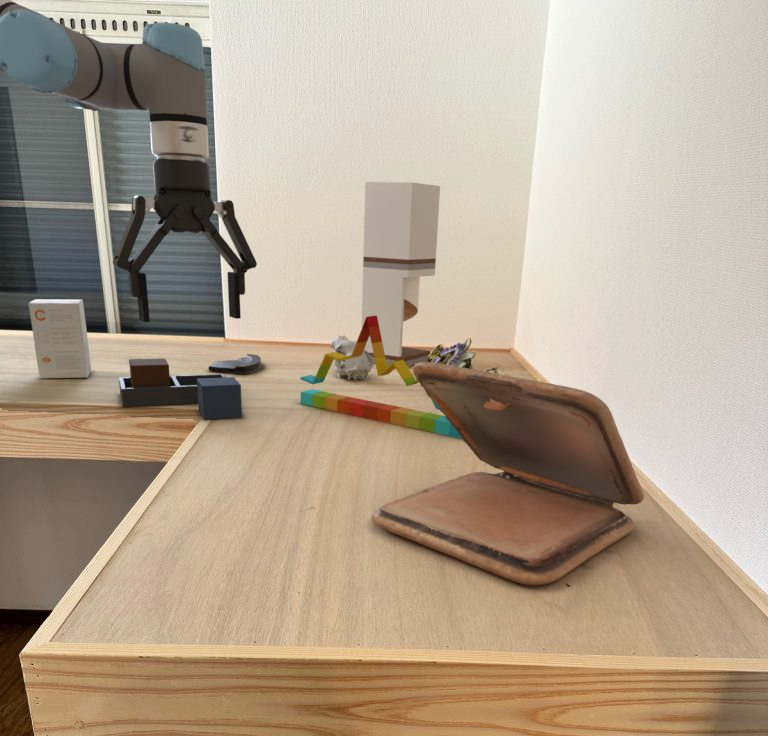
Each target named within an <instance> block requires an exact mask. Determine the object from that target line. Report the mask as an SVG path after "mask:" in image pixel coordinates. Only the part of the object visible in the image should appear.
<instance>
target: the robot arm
mask: <svg viewBox="0 0 768 736" xmlns="http://www.w3.org/2000/svg"><path fill="white" fill-rule="evenodd" d="M203 46H204V45H203V40H202V37H201V35H200V33H199V32H198V31H197V30H195V29H194V28H192V27H190V26H187V25H184V24H179V23H174V22H173V23H172V22H154V23H148V24H146V25H145V26H144V27H143V30H142V38H141V43H136V44H117V43H116V44H115V43H113V44H112V43H104V42H101V41H99V40H97V39H95V38H92V37H90V36H88V35H86V34H83V33H81V32H79V31H77V30H74V29H72V28H70V27H67V26H66V25H63V24H62V23H59V22H57V21H56V20H54V19H52V18H50V17H48V16H46V15H44V14H42V13H40V12H37V11H35V10H33V9H30V8H28V7H26V6H23V5H21V4H19V3H17V2H15V1H13V0H0V71H2V72H3V73H5V74H6V75H7V76H8V77H9V78H11V79H12V80H13V81H15V82H16V83H19V84H20V85H22V86H24V87H26V88H28V89H31V90H33V91H36V92H38V93H43V94H44V93H46V94H50V95H51V94H52V95H55V96H59V97H61V98H62V99H63V100H64V101H65V103H66V104H67V105H68V106H69V107H71V108H74V109H80V110H90V111H93V112H97V111H98V112H100V111H105V110H106V111H110V110H111V111H112V110H113V111H116V110H118V111H120V110H122V111H123V110H128V111H129V110H135V111H136V110H137V111H138V110H140V111H148V114H149V116H148V117H149V127H150V128H149V129H150V144H151V145H150V146H151V154H152V155H153V156H154V157H156V159H154V160H153V161H154V162H153V163H152V170H153V184H154V197H153V199H152V198H148V197H147V198H146V197H144V196H143V195H134V196H132V198H131V214H130V216H129V219H128V221H127V224H126V226H125V229H124V232H123V234H122V237H121V238H120V241H119V244H118V246H117V249H116V252H115V254H114V257H113V259H112V265H113V266H114V267H116V268H119V269H122V270H123V271H125V272H126V273H127V278H128V289H129V294H130V296H131V297H133V298H137V309H138V320H139V321H141V322H143V323H150V322H151V320H150V319H151V318H150V309H149V308H150V307H149V297H148V283H147V274H146V273H144V272H140V271H141V270H142V268H144V266H145V264H146V263H147V261H148V260H149V259H150V258H151V257H152V255H153V253H155V250H156V249H157V248H158V246H159V245H160V244H161V242H162V241H163V240H164V238H165V237H166V236H167V235H168V234H169V233H170V232H172V233H190V234H191V233H192V234H199V233H200V232H201V234H202V235H203V236H205V237H206V238H207V240H208V241H209V242H210V243H211V245H212V246H213V247H214V249H215V250H216V251H217V253H219V255H220V256H221V257H222V258H223V260H224V261H225V262H226V263H227V264H228V266H229V267H230V268H231V270H232V271H227V290H228V291H227V293H228V296H227V297H228V315H229V317H231V318H232V319H237V320H239V319H241V317H242V316H241V296H244V295H245V294H246V278H245V274H246V273H247V272H248V270H251V269H255V268H256V267H257V265H258V263H257V261H256V258H255V256H254V254H253V252H252V249H251V247H250V245H249V242H248V241H247V239H246V237H245V234H244V233H243V230H242V228H241V226H240V224H239V222H238V220H237V218H236V213H235V207H234V202H233V200H230V199H222V200H220V201H213V198H212V196H211V195H212V193H211V192H212V188H211V167H210V165H209V163H208V162H206V161H205V160H206V159H208V158H209V157H210V153H209V151H210V150H209V149H210V148H209V132H208V130H209V129H208V117H207V116H208V115H207V114H208V113H207V86H206V74H207V70H206V67H205V66H206V65H205V58H204V57H205V56H204V47H203ZM152 209H153V211H155V213H156V214H157V216H158V217H159V219H158V220H157V221H156V223H155V224H154V226H153V228H152V230H151V231H150V233H149V234H148V235H147V236H146V238H145V239H144V241H143V242H142V244H141V245H140V246H139V248H137V251H136V252H135V253H134V254H133V256H132V257H131V258H130V256H131V255H132V254H131V253H132V251H133V248H134V245H135V243H136V241H137V238H138V236H139V234H140V232H141V231H140V230H141V228H142V225H143V223H144V220H145V216H146V215H148V214H150V212H151V210H152ZM214 212H216V215H217V216H218V217H219V218H221V220H222V223H223V225H224V228H225V229H226V231H227V233H228V235H229V237H230V240H231V242H232V243H233V246H234V248H235V250H236V252H237V254H238V255H237V254H236V253H235V252H234V250H233V249H232V248H231V246H230V245H229V244H228V243H227V241H226V240H225V239H224V238H223V236H222V235H221V234H220V233H219V231H218V229H217V227H216V226H215V224H213V222H212V221H211V220H210V219H211V217H212V215H213V214H214ZM238 256H239V257H238ZM129 258H130V260H129Z"/></svg>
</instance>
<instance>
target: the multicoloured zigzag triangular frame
mask: <svg viewBox="0 0 768 736" xmlns="http://www.w3.org/2000/svg"><path fill="white" fill-rule="evenodd" d="M369 336H370V338H371V343H372V348H373V353H374V358H375V363H374V365H375V368H376V373H377V377H383V376H387V375H390V374H391V373H392V372H393V371H394V370H396V371H397V373H398V374H399V376H400V378H401V379H402V381H403V383H404V384H405V386H406V387H409V386H413V385H417V384H420V383H419V382H418V380H417V379H416V378H415V376H414V374H413V372H411V370H410V368H409V366H407V365H406V363H405V362H404V360H400V361H396V362H392V363H391V364H390V365H387V363H386V358H385V353H384V348H383V343H382V338H381V333H380V328H379V323H378V318H377V315H376V316H369V317H366V319H365V322H364V324H363V327H362V326H361V330H360V332H359V334H358V337H357V340H356V341H357V342H356V345H355V348H354V350H353V353H352V355H350V356H346V355H343V354H341V353H338V352H334V351H333V352H327V353H325V354H324V356H323V359H322V361H321V363H320V365H319V366H318V370H317V372H316V374H315V375H313V374H308V375H305V376H300V377H299V378H300V381H303V382H306V383H308V384H311V385H316V384H321V383H324V382H325V380H326V377H327V375H328V373H329V371H330V369H331V366H332V365H333V363H334V360H337V361H341V360H346V359H351V358H354V357H358V356H362V354H363V351H364V349H365V346H366V343H367V341H368V338H369ZM430 399H431V401H432V405H433V406H434V409H436V410H438V411H440V409H439V408H438V406H437V405H436V404H435V402H434V401H433V400H432V398H430ZM300 404H302V405H305V406H311V407H314V408H318V409H324V410H328V411H332V412H336V413H342V414H345V415H351V416H355V417H356V416H357V417H359V418H364V419H369V420H374V421H379V422H382V423H388V424H392V425H396V426H402V427H406V428H410V429H415V430H420V431H425V432H430V433H435V434H438V435H442V436H449V437H453V438H458V439H462V437H461V436H460V435H459V433H458V432H457V431H456V430H455V428H454V427H453V426H452V425H451V423H450V422H449V421H448V420H447V418H446V416H445V415H444V414H443V415H442V414H437V413H433V412H428V411H422V410H417V409H413V408H408V407H402V406H399V405H392V404H387V403H383V402H377V401H372V400H367V399H362V398H357V397H352V396H347V395H342V394H338V393H333V392H328V391H324V390H320V389H314V388H311V389H308V390H303V391H300ZM462 440H463V439H462Z"/></svg>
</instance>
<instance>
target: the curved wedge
mask: <svg viewBox="0 0 768 736" xmlns="http://www.w3.org/2000/svg"><path fill="white" fill-rule="evenodd" d="M261 362H262V358H261V356H259V355H258V354H251V353H246V356H245V357H239V358H236V359H232V360H230V359H228V360H218V361H216V362H214V363H212V364H210V365H208V370H209V371H212V372H222V373H230V374H240V375H249V374H253V373H256V372H257V371H259V370H260V369H261V368H262V364H261Z"/></svg>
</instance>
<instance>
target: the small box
mask: <svg viewBox="0 0 768 736" xmlns="http://www.w3.org/2000/svg"><path fill="white" fill-rule="evenodd" d="M27 304H28V310H29V315H30V316H29V317H30V323H31V329H32V335H33V343H34V349H35V357H36V362H37V363H36V364H37V370H38V376H39V379H70V378H71V379H75V378H76V379H78V378H79V379H80V378H81V379H82V378H85V379H86V378H89V375H90V374H91V373H92V364H91V363H92V362H91V355H90V345H89V338H88V330H87V323H86V315H85V307H84V306H85V305H84V300H83V299H68V298H67V299H62V298H61V299H58V298H56V299H55V298H54V299H53V298H52V299H51V298H50V299H49V298H48V299H47V298H45V299H43V298H40V299H39V298H36V299H33V300H31V301H29V302H28V303H27Z"/></svg>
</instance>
